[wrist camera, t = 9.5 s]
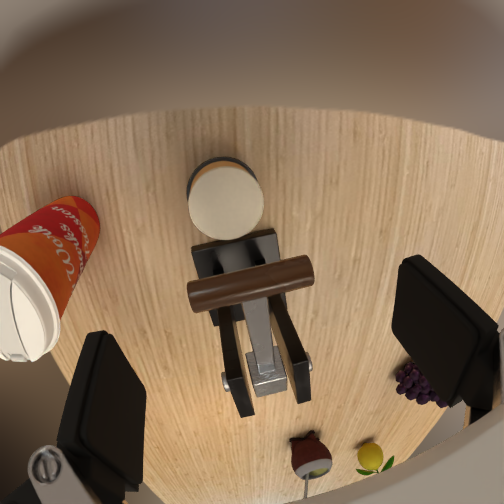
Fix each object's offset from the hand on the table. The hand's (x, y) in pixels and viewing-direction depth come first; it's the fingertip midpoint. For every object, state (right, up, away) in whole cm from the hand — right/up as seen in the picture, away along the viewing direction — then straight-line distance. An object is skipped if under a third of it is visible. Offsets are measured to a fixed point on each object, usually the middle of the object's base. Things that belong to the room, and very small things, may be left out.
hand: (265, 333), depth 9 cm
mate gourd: (+9, -32, +39) cm, 51 cm away
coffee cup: (-18, +5, +17) cm, 25 cm away
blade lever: (0, -2, +8) cm, 8 cm away
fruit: (+29, -16, +36) cm, 49 cm away
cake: (-3, +8, +18) cm, 20 cm away
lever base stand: (-2, 0, +22) cm, 22 cm away
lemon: (+24, -39, +46) cm, 65 cm away
